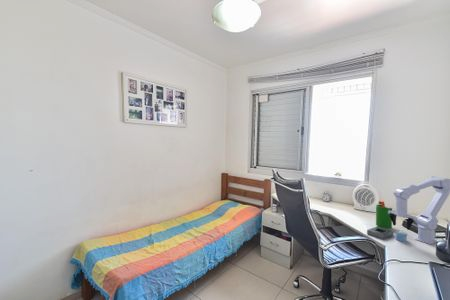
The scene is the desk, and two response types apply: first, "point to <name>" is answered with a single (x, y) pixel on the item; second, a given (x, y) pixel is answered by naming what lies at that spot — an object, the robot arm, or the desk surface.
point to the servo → (401, 236)
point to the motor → (383, 216)
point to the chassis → (380, 232)
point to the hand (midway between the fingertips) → (401, 227)
